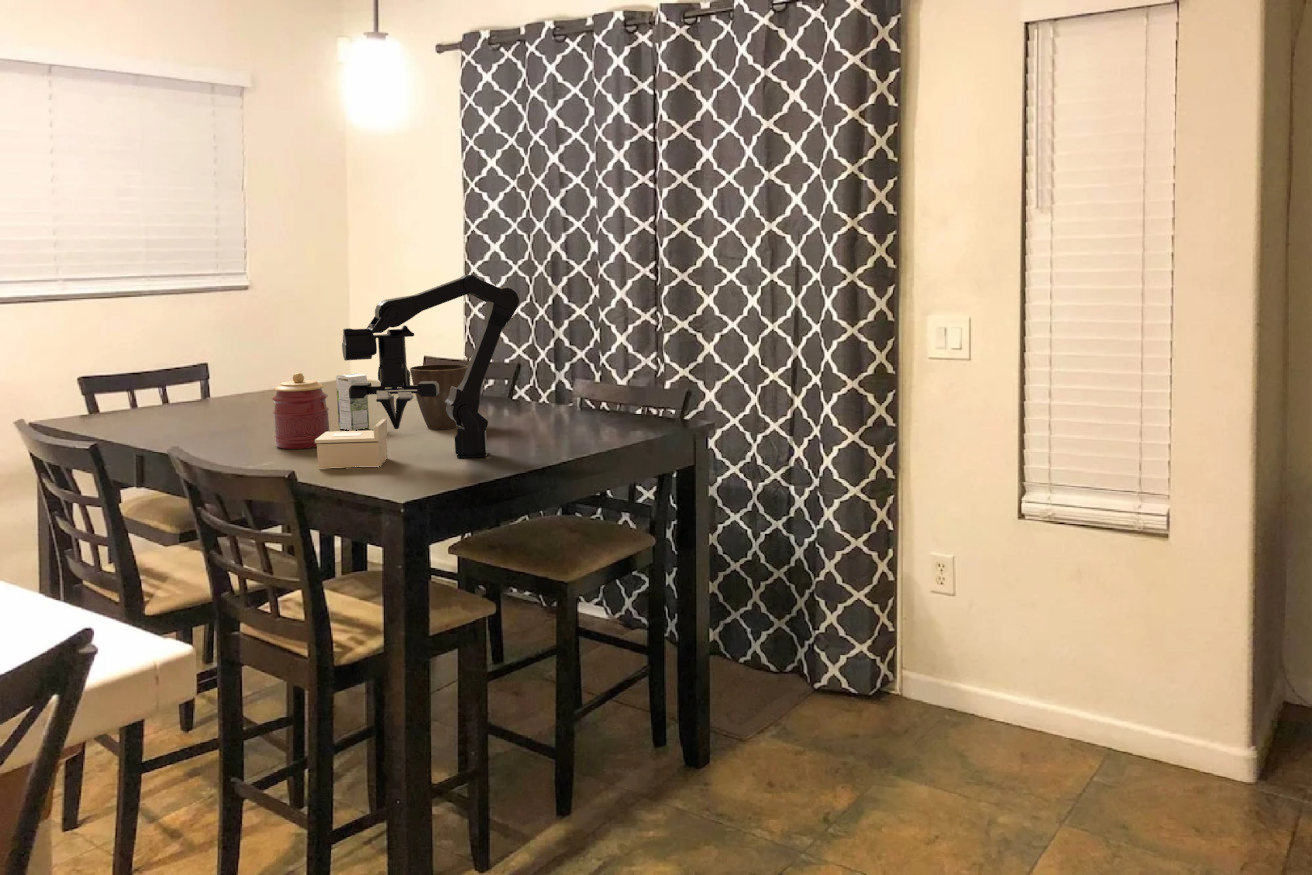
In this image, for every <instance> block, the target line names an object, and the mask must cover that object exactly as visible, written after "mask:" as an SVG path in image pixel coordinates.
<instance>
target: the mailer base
mask: <svg viewBox="0 0 1312 875" xmlns="http://www.w3.org/2000/svg"><path fill="white" fill-rule="evenodd" d="M387 442H388V441H387V434H386V435H385V436H384V437H383V438H382V439H381V440H380V441H372V442H339V443H318V444H317V447H316V452H317V453H316V454H317V465H318V469H319V468H330V467H355V466H356V467H357V466H358V467H359V466H380V467H381V466H382V465H383V464H384V463H385V462H386V461H387V460H388V459H387V458H388V443H387ZM386 459H387V460H386ZM385 460H386V461H385ZM383 462H384V463H383ZM382 463H383V464H382Z"/></svg>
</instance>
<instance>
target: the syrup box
mask: <svg viewBox="0 0 1312 875" xmlns="http://www.w3.org/2000/svg"><path fill="white" fill-rule="evenodd" d="M367 378H368V376H367V375H366V374H364V373H359V372H358V373H357V372H356V373H355V372H354V373H347V374H346V373H345V374H340V375H335V385H336V402H337V416H338V418H337V419H338V420H337V421H338V429H339V428H341V429H347V430H351V431H352V430H357V429H363V428H369V429H370V417H369V416H370V415H369V413H370V412H369V397H368V396H369V395H366V396H365V397H364V398H356V399H350V398H349V388H350V386H351V385H353V384H355V383H368V379H367ZM363 430H364V429H363ZM357 431H358V430H357Z"/></svg>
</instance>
